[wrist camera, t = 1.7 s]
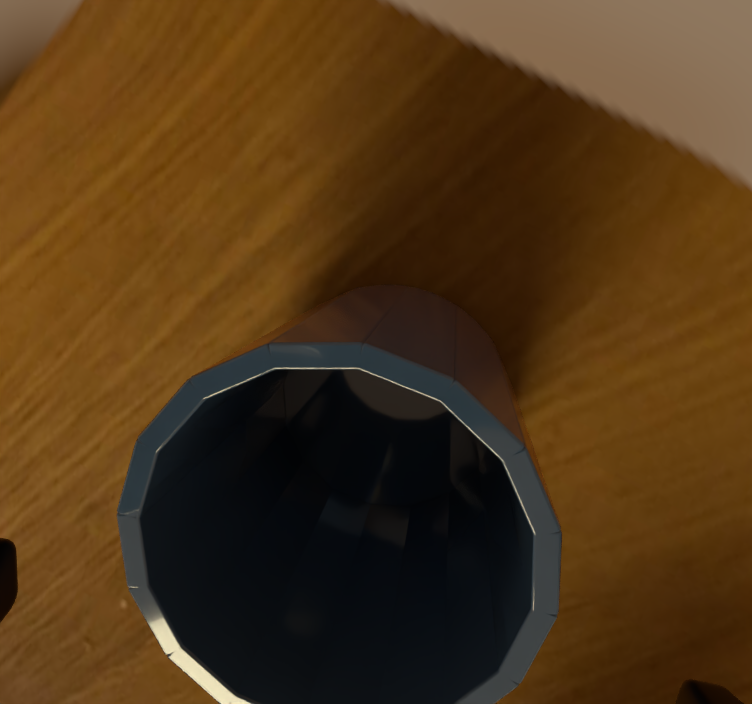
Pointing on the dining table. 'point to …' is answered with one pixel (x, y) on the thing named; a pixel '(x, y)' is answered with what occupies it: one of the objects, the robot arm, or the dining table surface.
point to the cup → (346, 514)
